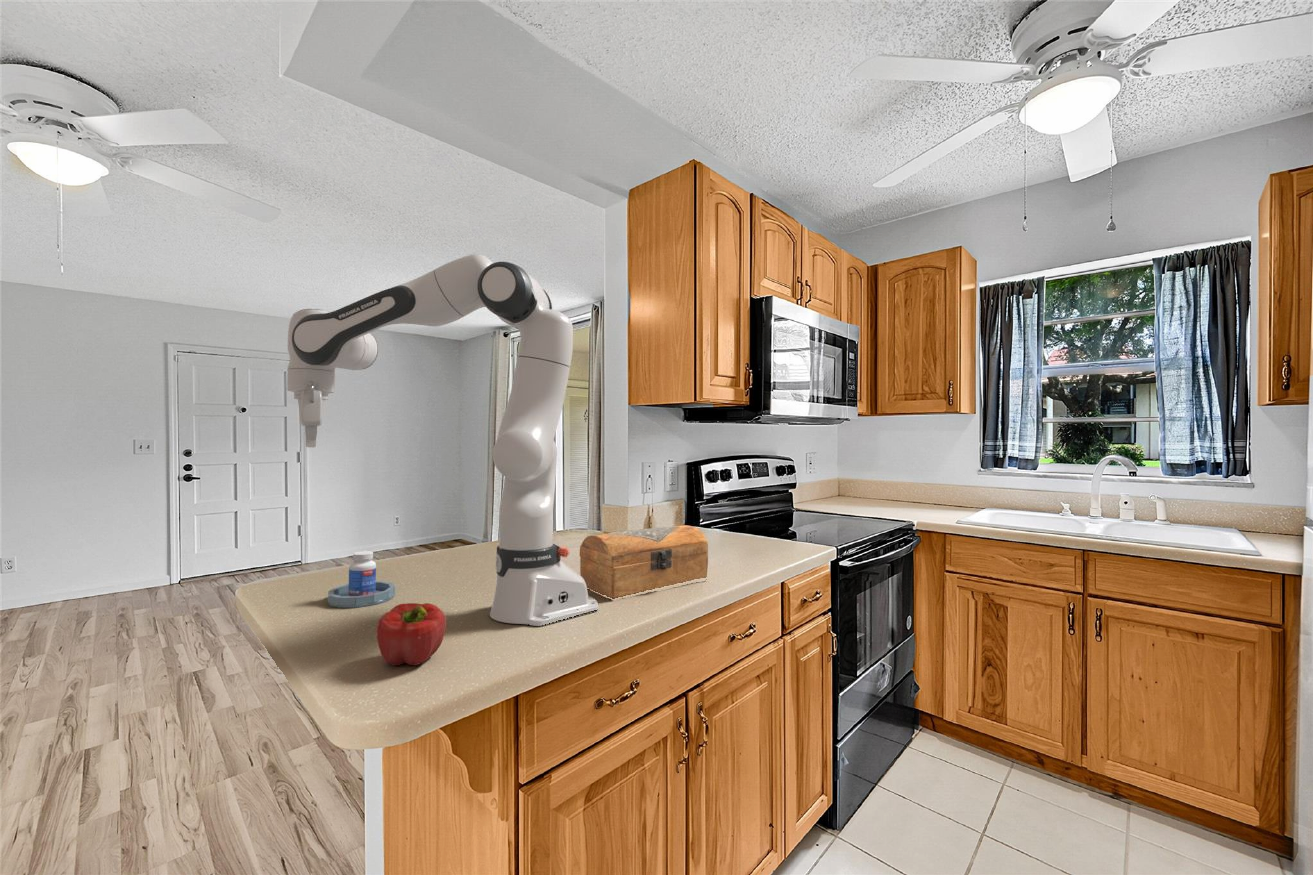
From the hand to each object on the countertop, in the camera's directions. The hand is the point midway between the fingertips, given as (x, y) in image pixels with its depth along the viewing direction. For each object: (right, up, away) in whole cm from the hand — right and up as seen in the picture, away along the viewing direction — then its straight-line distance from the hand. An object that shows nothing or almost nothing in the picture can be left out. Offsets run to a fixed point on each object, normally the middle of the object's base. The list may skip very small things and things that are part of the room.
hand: (310, 446), depth 120 cm
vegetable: (+36, -35, -31) cm, 59 cm away
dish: (+10, -34, +2) cm, 36 cm away
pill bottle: (+10, -34, +2) cm, 35 cm away
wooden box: (+74, -36, +17) cm, 84 cm away
